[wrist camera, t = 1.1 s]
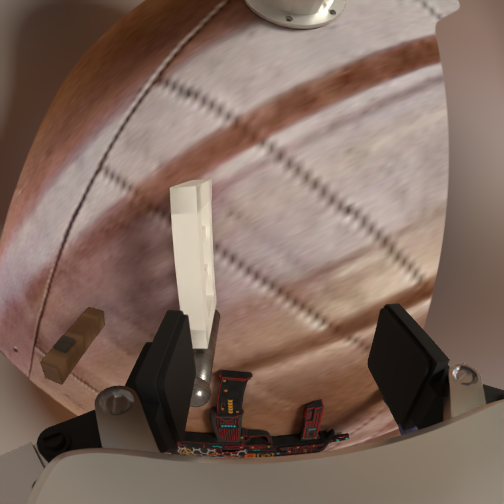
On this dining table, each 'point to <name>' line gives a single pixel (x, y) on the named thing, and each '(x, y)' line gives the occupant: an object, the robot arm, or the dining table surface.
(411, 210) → the dining table surface
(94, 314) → the post
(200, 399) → the hinge post
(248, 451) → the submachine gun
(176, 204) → the gate
